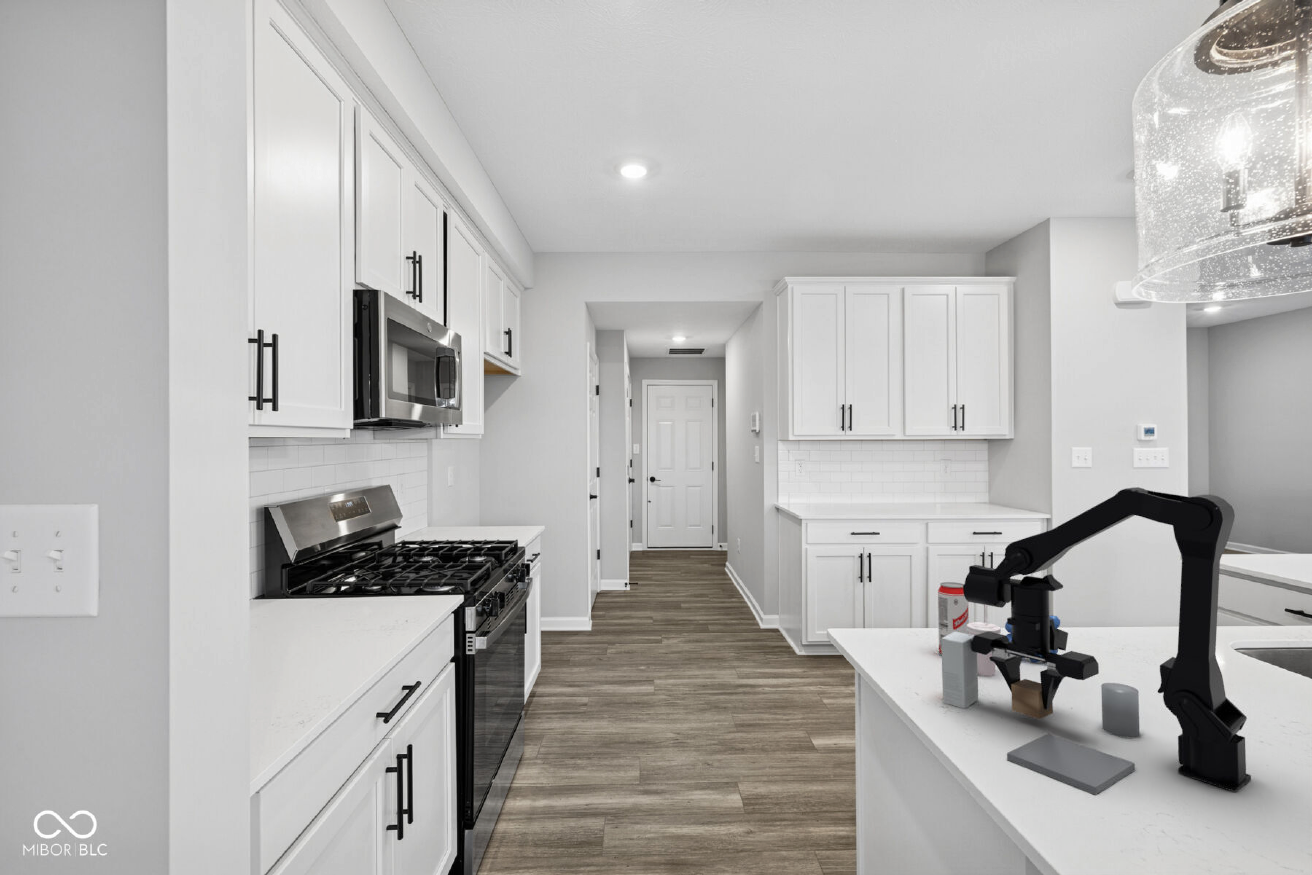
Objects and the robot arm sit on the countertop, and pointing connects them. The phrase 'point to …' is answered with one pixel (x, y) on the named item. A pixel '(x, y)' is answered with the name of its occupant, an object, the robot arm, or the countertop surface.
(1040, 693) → the walnut block
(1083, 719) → the countertop surface
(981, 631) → the smoothie
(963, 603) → the beer can
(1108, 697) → the grey cylinder
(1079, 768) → the slate pad
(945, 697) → the skincare box
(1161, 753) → the countertop surface
